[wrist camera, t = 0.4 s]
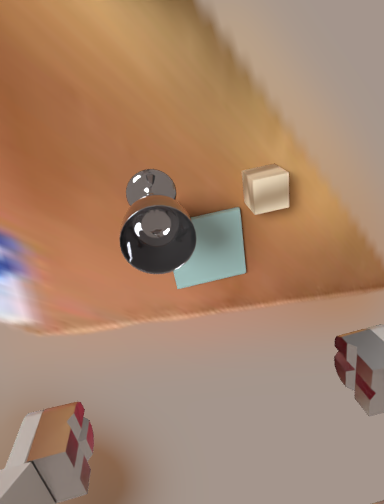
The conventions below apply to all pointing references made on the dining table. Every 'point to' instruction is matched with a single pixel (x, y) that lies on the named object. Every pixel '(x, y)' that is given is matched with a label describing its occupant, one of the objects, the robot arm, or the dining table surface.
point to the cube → (266, 188)
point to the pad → (214, 249)
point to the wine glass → (155, 225)
